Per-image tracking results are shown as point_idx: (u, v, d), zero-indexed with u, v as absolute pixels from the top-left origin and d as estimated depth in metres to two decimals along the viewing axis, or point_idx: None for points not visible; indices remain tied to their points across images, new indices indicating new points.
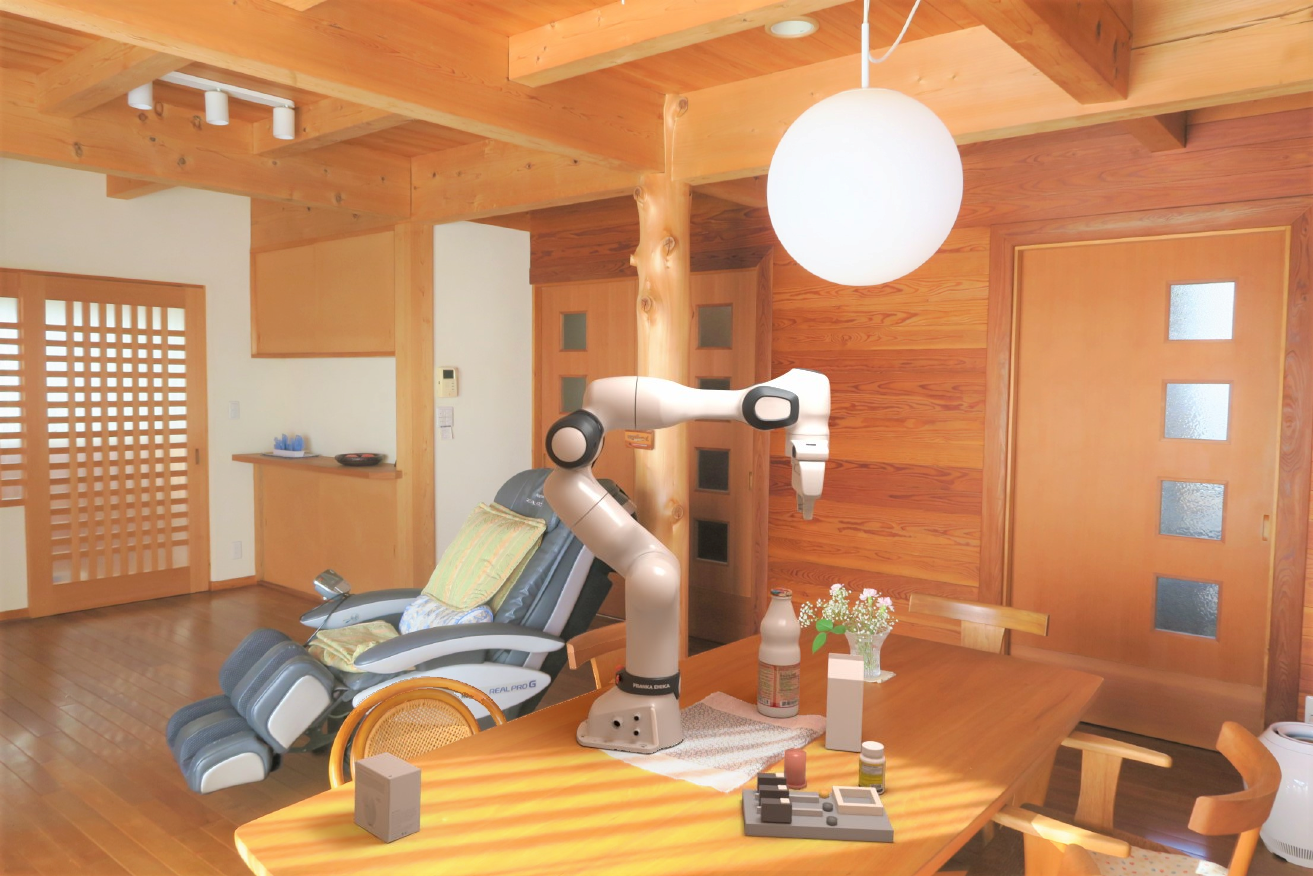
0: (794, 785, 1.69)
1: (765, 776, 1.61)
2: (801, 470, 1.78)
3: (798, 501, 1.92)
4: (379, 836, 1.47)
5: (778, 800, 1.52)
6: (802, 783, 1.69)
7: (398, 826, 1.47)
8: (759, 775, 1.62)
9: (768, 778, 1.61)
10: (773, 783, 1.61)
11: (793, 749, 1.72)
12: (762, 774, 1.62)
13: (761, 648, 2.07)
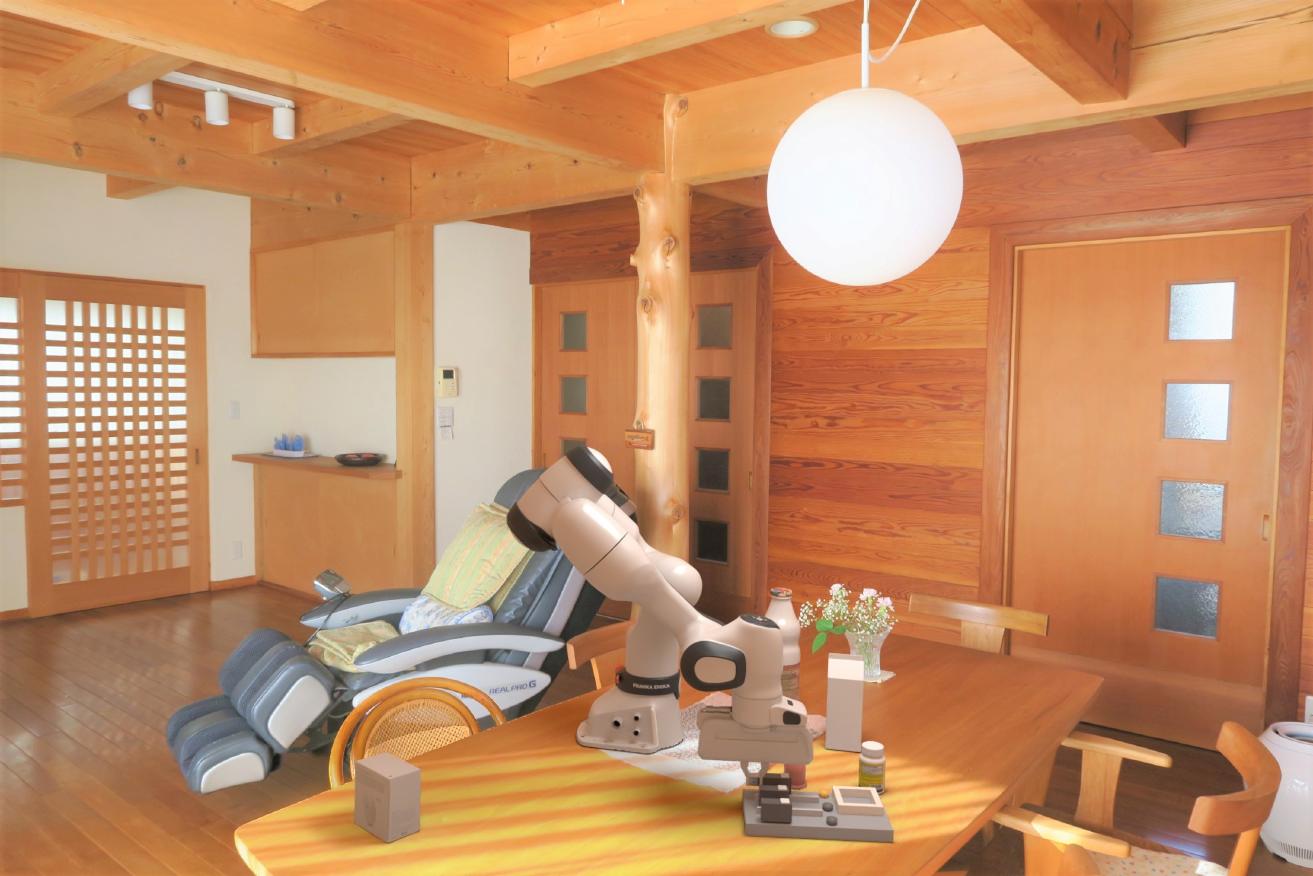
0: (794, 785, 1.69)
1: (770, 776, 1.61)
2: (811, 735, 1.59)
3: (748, 773, 1.61)
4: (379, 836, 1.47)
5: (778, 800, 1.52)
6: (802, 783, 1.69)
7: (398, 826, 1.47)
8: None
9: (773, 778, 1.61)
10: (778, 783, 1.61)
11: None
12: (767, 774, 1.62)
13: None
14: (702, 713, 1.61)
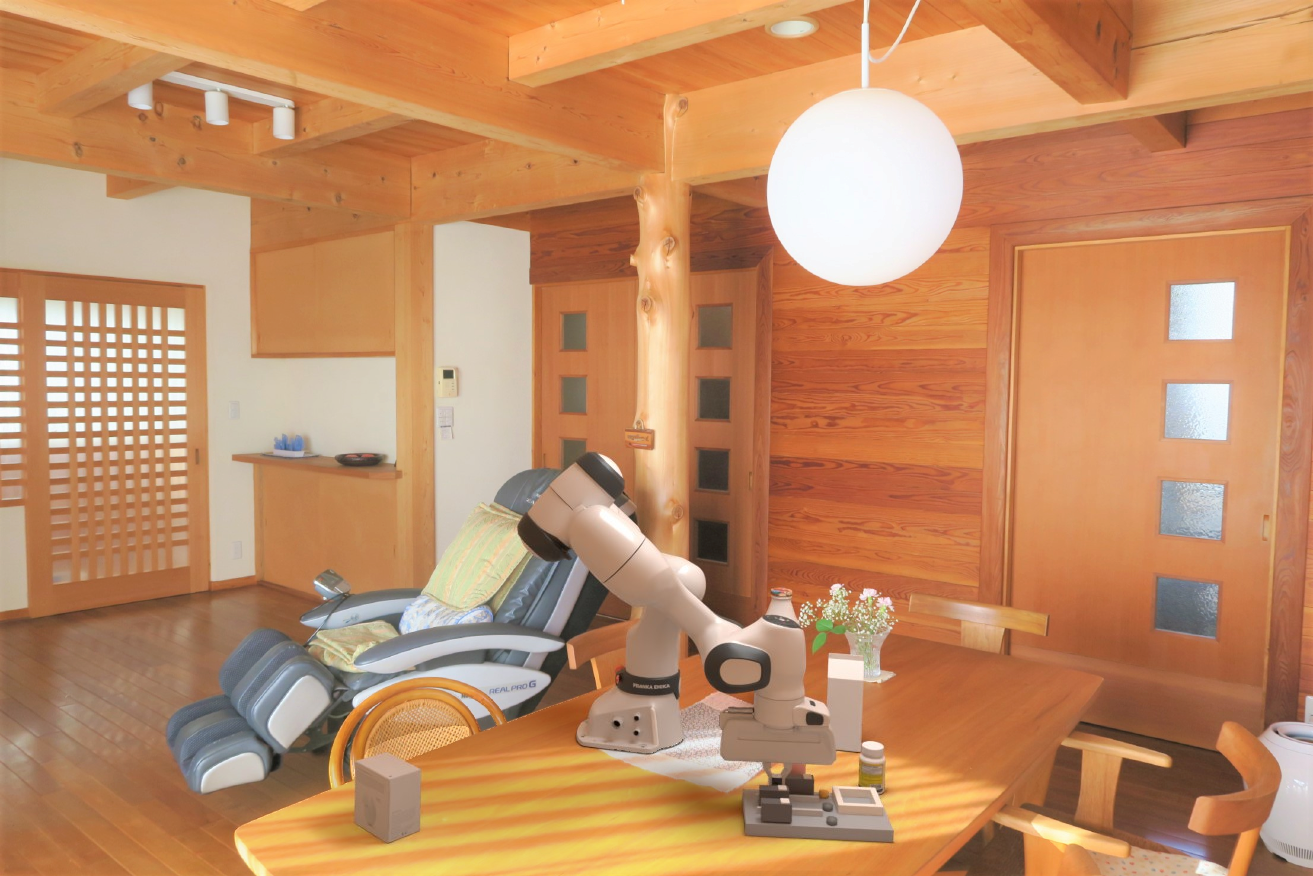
0: None
1: (793, 777, 1.61)
2: (833, 736, 1.58)
3: (770, 774, 1.61)
4: (379, 836, 1.47)
5: (778, 800, 1.52)
6: None
7: (398, 826, 1.47)
8: None
9: (796, 779, 1.61)
10: (801, 784, 1.61)
11: None
12: (789, 775, 1.62)
13: None
14: (725, 714, 1.61)
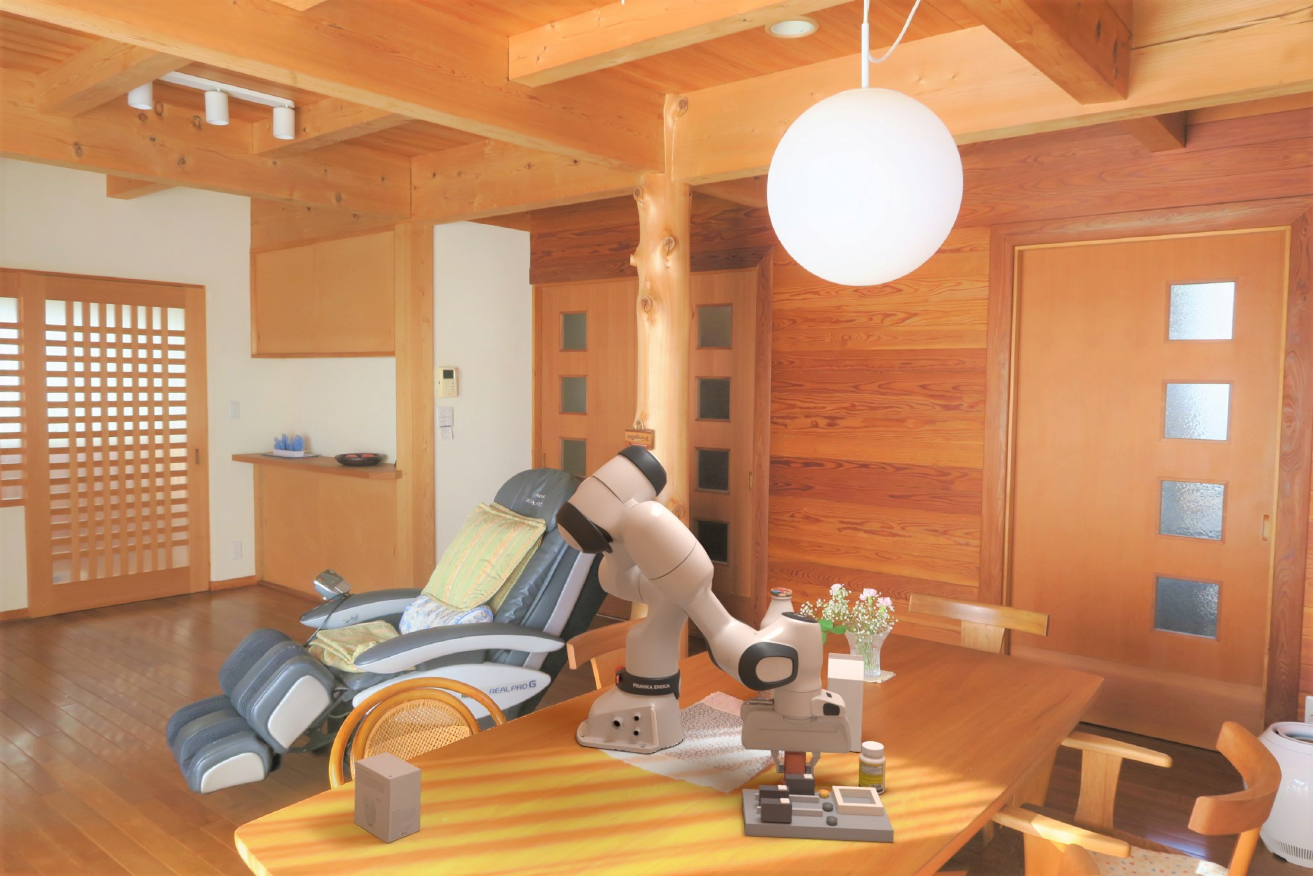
0: None
1: (794, 777, 1.61)
2: (849, 725, 1.67)
3: (778, 761, 1.70)
4: (379, 836, 1.47)
5: (778, 800, 1.52)
6: None
7: (398, 826, 1.47)
8: (787, 776, 1.62)
9: (796, 779, 1.61)
10: (801, 784, 1.61)
11: None
12: (790, 775, 1.62)
13: None
14: (746, 706, 1.70)
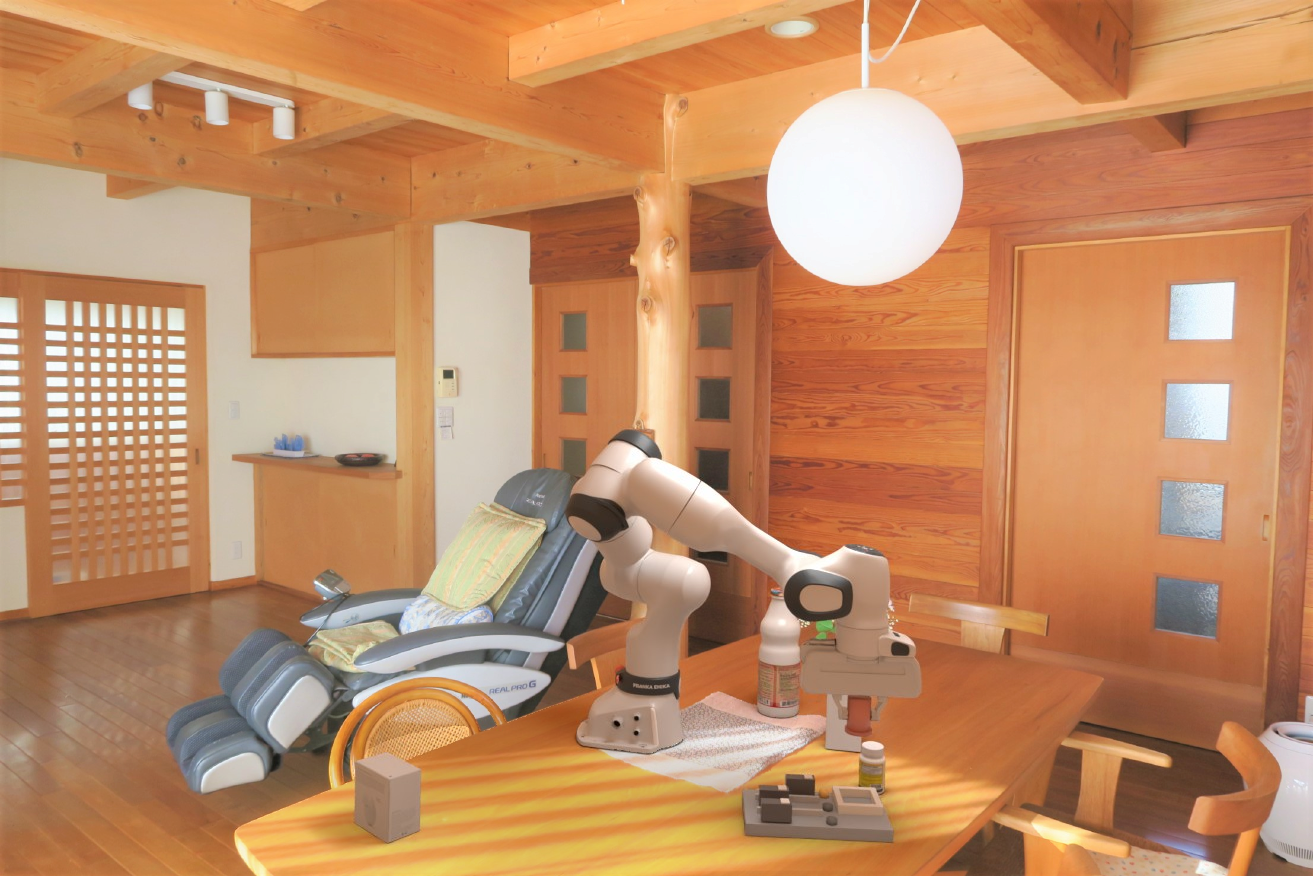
0: (858, 732, 1.55)
1: (794, 777, 1.61)
2: (919, 667, 1.54)
3: (841, 707, 1.57)
4: (379, 836, 1.47)
5: (778, 800, 1.52)
6: (867, 730, 1.56)
7: (398, 826, 1.47)
8: (787, 776, 1.62)
9: (796, 779, 1.61)
10: (801, 784, 1.61)
11: None
12: (790, 775, 1.62)
13: (761, 648, 2.07)
14: (806, 646, 1.57)
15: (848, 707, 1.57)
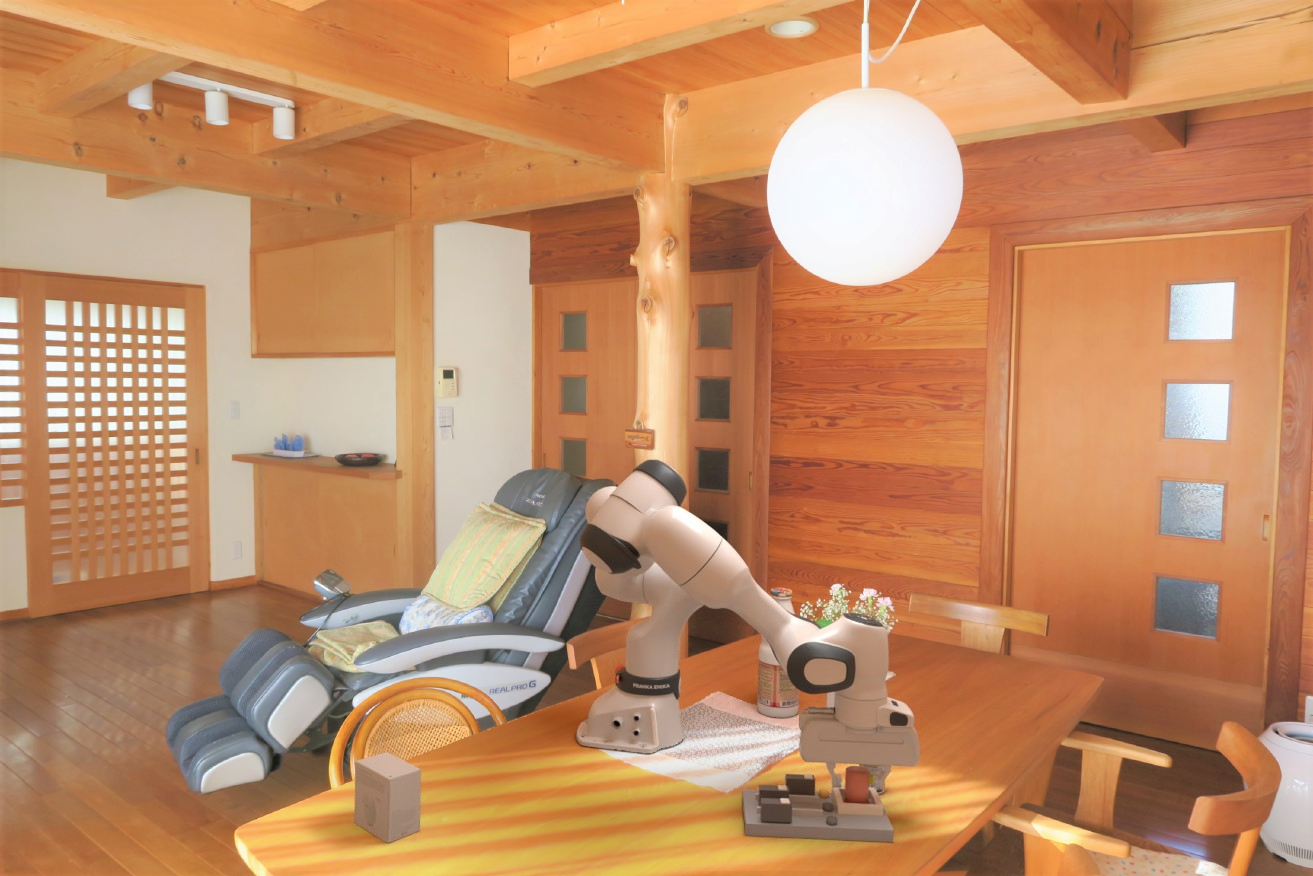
0: None
1: (794, 777, 1.61)
2: (917, 736, 1.55)
3: (835, 775, 1.58)
4: (379, 836, 1.47)
5: (778, 800, 1.52)
6: None
7: (398, 826, 1.47)
8: (787, 776, 1.62)
9: (796, 779, 1.61)
10: (801, 784, 1.61)
11: (854, 767, 1.60)
12: (790, 775, 1.62)
13: (761, 648, 2.07)
14: (805, 715, 1.58)
15: (846, 780, 1.58)
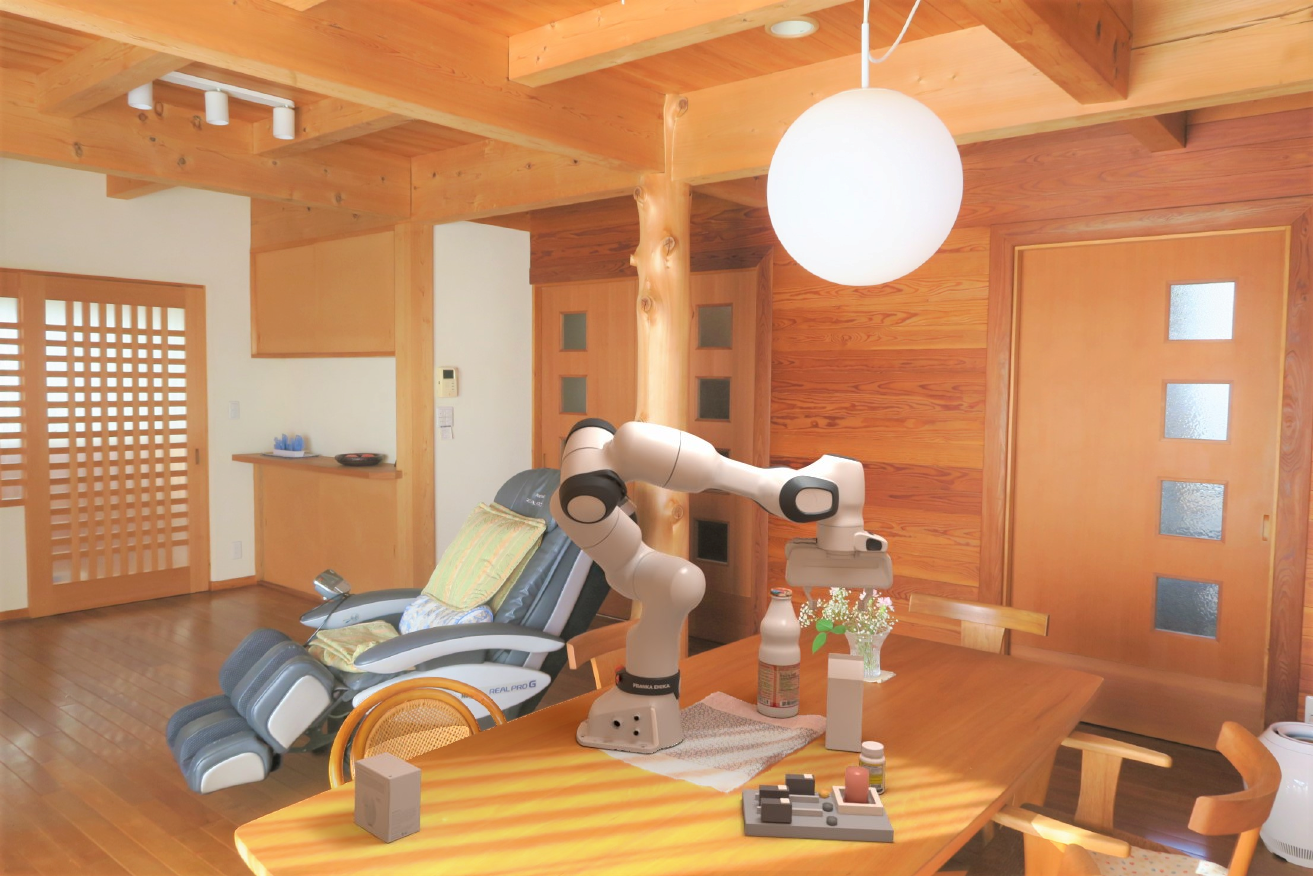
0: None
1: (794, 777, 1.61)
2: (891, 561, 1.73)
3: (811, 598, 1.76)
4: (379, 836, 1.47)
5: (778, 800, 1.52)
6: None
7: (398, 826, 1.47)
8: (787, 776, 1.62)
9: (796, 779, 1.61)
10: (801, 784, 1.61)
11: (854, 767, 1.60)
12: (790, 775, 1.62)
13: (761, 648, 2.07)
14: (790, 544, 1.76)
15: (846, 781, 1.58)
